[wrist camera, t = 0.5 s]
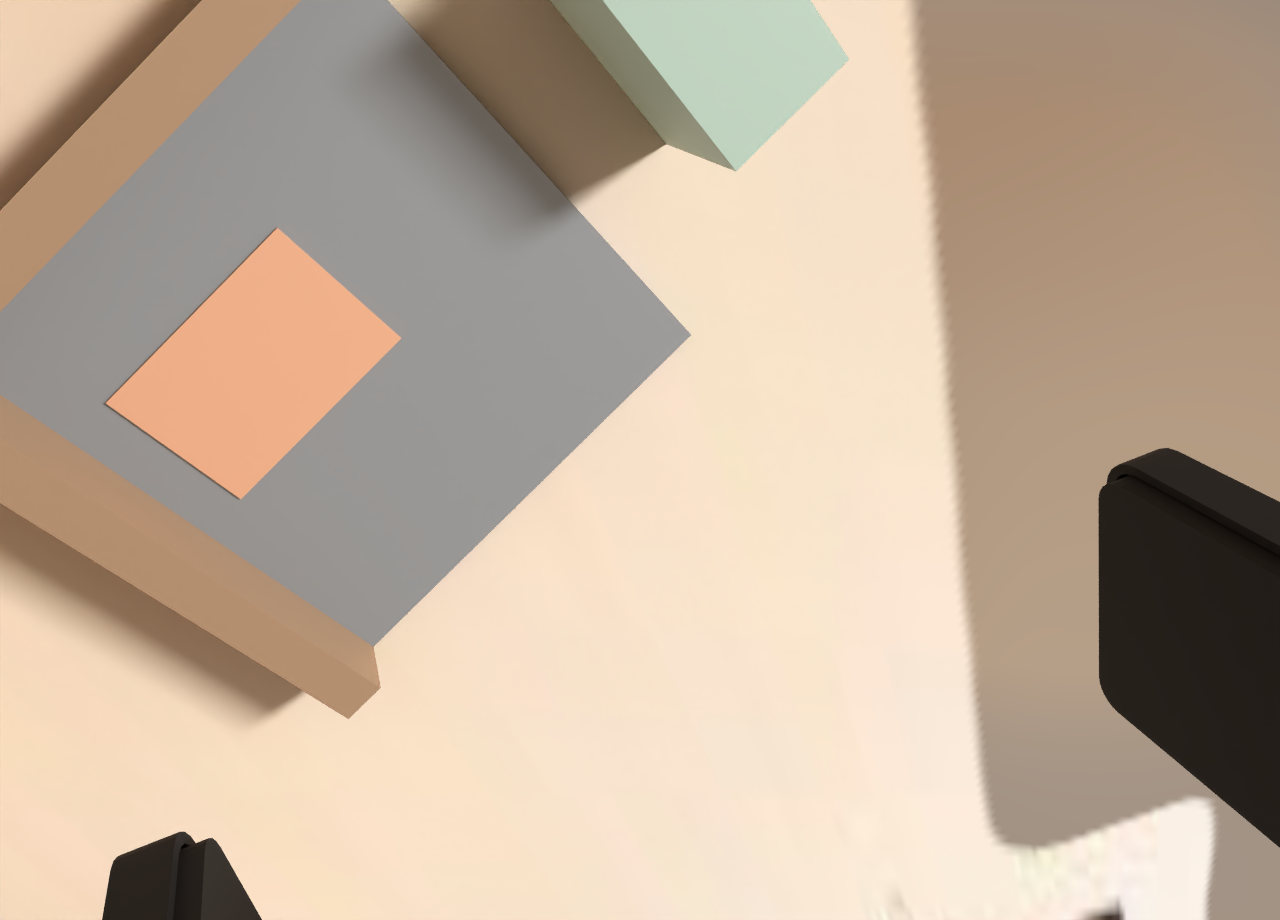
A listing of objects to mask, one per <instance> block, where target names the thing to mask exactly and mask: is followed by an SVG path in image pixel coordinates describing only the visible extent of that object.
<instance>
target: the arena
mask: <svg viewBox="0 0 1280 920" xmlns="http://www.w3.org/2000/svg"><path fill="white" fill-rule="evenodd" d="M690 336H691V334H690V333H689V332H688V331H687V330H686V329H685V328H684V327H683V325H682V324H681V323H680V322H679V321H678V320H677V319H676V318H675V317H674V315H673V314H672V313H671V312H670V311H669V310H668V309H667V308H666V307H665V306H664V304H663V303H662V302H661V301H660V300H659V299H658V298H657V297H656V296H655V295H654V293H653V292H652V291H651V290H650V289H649V288H648V287H647V286H646V285H645V284H644V282H643V281H642V280H641V279H640V278H639V277H638V276H637V275H636V274H635V273H634V271H633V270H632V269H631V268H630V267H629V266H628V265H627V264H626V263H625V262H624V260H623V259H622V258H621V257H620V256H619V255H618V254H617V253H616V252H615V251H614V249H613V248H612V247H611V246H610V245H609V244H608V243H607V242H606V241H605V239H604V238H603V237H602V236H601V235H600V234H599V233H598V232H597V231H596V230H595V228H594V227H593V226H592V225H591V224H590V223H589V222H588V221H587V220H586V219H585V217H584V216H583V215H582V214H581V213H580V212H579V211H578V210H577V209H576V208H575V206H574V205H573V204H572V203H571V202H570V201H569V200H568V199H567V198H566V197H565V195H564V194H563V193H562V192H561V191H560V190H559V189H558V188H557V187H556V186H555V184H554V183H553V182H552V181H551V180H550V179H549V178H548V177H547V176H546V175H545V173H544V172H543V171H542V170H541V169H540V168H539V167H538V166H537V165H536V164H535V162H534V161H533V160H532V159H531V158H530V157H529V156H528V155H527V154H526V152H525V151H524V150H523V149H522V148H521V147H520V146H519V145H518V144H517V143H516V141H515V140H514V139H513V138H512V137H511V136H510V135H509V134H508V133H507V132H506V130H505V129H504V128H503V127H502V126H501V125H500V124H499V123H498V122H497V121H496V119H495V118H494V117H493V116H492V115H491V114H490V113H489V112H488V111H487V110H486V108H485V107H484V106H483V105H482V104H481V103H480V102H479V101H478V100H477V99H476V97H475V96H474V95H473V94H472V93H471V92H470V91H469V90H468V89H467V88H466V86H465V85H464V84H463V83H462V82H461V81H460V80H459V79H458V78H457V76H456V75H455V74H454V73H453V72H452V71H451V70H450V69H449V68H448V67H447V65H446V64H445V63H444V62H443V61H442V60H441V59H440V58H439V57H438V56H437V54H436V53H435V52H434V51H433V50H432V49H431V48H430V47H429V46H428V45H427V43H426V42H425V41H424V40H423V39H422V38H421V37H420V36H419V35H418V34H417V32H416V31H415V30H414V29H413V28H412V27H411V26H410V25H409V24H408V23H407V21H406V20H405V19H404V18H403V17H402V16H401V15H400V14H399V13H398V12H397V10H396V9H395V8H394V7H393V6H392V5H391V4H390V3H389V2H388V0H201V1H200V2H199V3H198V5H197V6H196V7H195V8H194V9H193V10H192V11H191V12H190V13H189V14H188V15H187V16H186V17H185V18H184V19H183V20H182V21H181V22H180V23H179V24H178V25H177V26H176V27H175V29H174V30H173V31H172V32H171V33H170V34H169V35H168V36H167V37H166V38H165V39H164V40H163V41H162V42H161V43H160V44H159V45H158V46H157V47H156V48H155V49H154V50H153V52H152V53H151V54H150V55H149V56H148V57H147V58H146V59H145V60H144V61H143V62H142V63H141V64H140V65H139V66H138V67H137V68H136V69H135V70H134V71H133V72H132V73H131V74H130V76H129V77H128V78H127V79H126V80H125V81H124V82H123V83H122V84H121V85H120V86H119V87H118V88H117V89H116V90H115V91H114V92H113V93H112V94H111V95H110V96H109V97H108V99H107V100H106V101H105V102H104V103H103V104H102V105H101V106H100V107H99V108H98V109H97V110H96V111H95V112H94V113H93V114H92V115H91V116H90V117H89V118H88V119H87V120H86V122H85V123H84V124H83V125H82V126H81V127H80V128H79V129H78V130H77V131H76V132H75V133H74V134H73V135H72V136H71V137H70V138H69V139H68V140H67V141H66V142H65V143H64V144H63V146H62V147H61V148H60V149H59V150H58V151H57V152H56V153H55V154H54V155H53V156H52V157H51V158H50V159H49V160H48V161H47V162H46V163H45V164H44V165H43V166H42V167H41V169H40V170H39V171H38V172H37V173H36V174H35V175H34V176H33V177H32V178H31V179H30V180H29V181H28V182H27V183H26V184H25V185H24V186H23V187H22V188H21V189H20V190H19V191H18V193H17V194H16V195H15V196H14V197H13V198H12V199H11V200H10V201H9V202H8V203H7V204H6V205H5V206H4V207H3V208H2V209H1V210H0V504H2V505H4V506H5V507H7V508H8V509H10V510H12V511H13V512H15V513H16V514H18V515H20V516H21V517H23V518H25V519H26V520H28V521H29V522H31V523H33V524H34V525H36V526H37V527H39V528H41V529H42V530H44V531H46V532H47V533H49V534H50V535H52V536H54V537H55V538H57V539H58V540H60V541H62V542H63V543H65V544H67V545H68V546H70V547H71V548H73V549H75V550H76V551H78V552H79V553H81V554H83V555H84V556H86V557H88V558H89V559H91V560H92V561H94V562H96V563H97V564H99V565H100V566H102V567H104V568H105V569H107V570H109V571H110V572H112V573H113V574H115V575H117V576H118V577H120V578H121V579H123V580H125V581H126V582H128V583H130V584H131V585H133V586H134V587H136V588H138V589H139V590H141V591H142V592H144V593H146V594H147V595H149V596H151V597H152V598H154V599H155V600H157V601H159V602H160V603H162V604H163V605H165V606H167V607H168V608H170V609H172V610H173V611H175V612H176V613H178V614H180V615H181V616H183V617H184V618H186V619H188V620H189V621H191V622H193V623H194V624H196V625H197V626H199V627H201V628H202V629H204V630H205V631H207V632H209V633H210V634H212V635H214V636H215V637H217V638H218V639H220V640H222V641H223V642H225V643H226V644H228V645H230V646H231V647H233V648H235V649H236V650H238V651H239V652H241V653H243V654H244V655H246V656H247V657H249V658H251V659H252V660H254V661H256V662H257V663H259V664H260V665H262V666H264V667H265V668H267V669H268V670H270V671H272V672H273V673H275V674H277V675H278V676H280V677H281V678H283V679H285V680H286V681H288V682H290V683H291V684H293V685H294V686H296V687H298V688H299V689H301V690H302V691H304V692H306V693H307V694H309V695H311V696H312V697H314V698H315V699H317V700H319V701H320V702H322V703H323V704H325V705H327V706H328V707H330V708H332V709H333V710H335V711H336V712H338V713H340V714H341V715H343V716H344V717H346V718H348V719H349V718H350V717H351V716H352V715H353V714H354V713H355V712H356V711H357V710H358V709H359V708H360V707H361V706H362V705H363V704H364V703H365V702H366V701H367V700H368V699H369V698H370V697H372V696H373V695H374V694H375V693H376V692H377V691H378V690H379V689H380V688H381V687H380V682H379V676H378V670H377V665H376V659H375V653H374V646H375V645H376V644H377V643H378V642H379V641H380V640H381V639H382V638H383V637H384V636H385V635H386V634H387V633H388V632H389V631H390V630H391V629H392V628H393V627H394V626H395V625H396V624H397V623H398V622H399V621H400V620H401V619H402V618H403V617H404V616H405V615H406V614H407V613H408V612H409V611H410V610H411V609H412V608H413V607H414V606H415V605H416V604H417V603H418V602H419V601H420V600H421V599H422V598H423V597H425V596H426V595H427V594H428V593H429V592H430V591H431V590H432V589H433V588H434V587H435V586H436V585H437V584H438V583H439V582H440V581H441V580H442V579H443V578H444V577H445V576H446V575H447V574H448V573H449V572H450V571H451V570H452V569H453V568H454V567H455V566H456V565H457V564H458V563H459V562H460V561H461V560H462V559H463V558H464V557H465V556H466V555H467V554H468V553H469V552H470V551H471V550H472V549H473V548H474V547H475V546H476V545H478V544H479V543H480V542H481V541H482V540H483V539H484V538H485V537H486V536H487V535H488V534H489V533H490V532H491V531H492V530H493V529H494V528H495V527H496V526H497V525H498V524H499V523H500V522H501V521H502V520H503V519H504V518H505V517H506V516H507V515H508V514H509V513H510V512H511V511H512V510H513V509H514V508H515V507H516V506H517V505H518V504H519V503H520V502H521V501H522V500H523V499H524V498H525V497H526V496H527V495H528V494H529V493H531V492H532V491H533V490H534V489H535V488H536V487H537V486H538V485H539V484H540V483H541V482H542V481H543V480H544V479H545V478H546V477H547V476H548V475H549V474H550V473H551V472H552V471H553V470H554V469H555V468H556V467H557V466H558V465H559V464H560V463H561V462H562V461H563V460H564V459H565V458H566V457H567V456H568V455H569V454H570V453H571V452H572V451H573V450H574V449H575V448H576V447H577V446H578V445H579V444H580V443H581V442H582V441H584V440H585V439H586V438H587V437H588V436H589V435H590V434H591V433H592V432H593V431H594V430H595V429H596V428H597V427H598V426H599V425H600V424H601V423H602V422H603V421H604V420H605V419H606V418H607V417H608V416H609V415H610V414H611V413H612V412H613V411H614V410H615V409H616V408H617V407H618V406H619V405H620V404H621V403H622V402H623V401H624V400H625V399H626V398H627V397H628V396H629V395H630V394H631V393H632V392H633V391H634V390H635V389H637V388H638V387H639V386H640V385H641V384H642V383H643V382H644V381H645V380H646V379H647V378H648V377H649V376H650V375H651V374H652V373H653V372H654V371H655V370H656V369H657V368H658V367H659V366H660V365H661V364H662V363H663V362H664V361H665V360H666V359H667V358H668V357H669V356H670V355H671V354H672V353H673V352H674V351H675V350H676V349H677V348H678V347H679V346H680V345H681V344H682V343H683V342H684V341H685V340H686V339H687V338H688V337H690Z"/></svg>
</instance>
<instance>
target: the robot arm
mask: <svg viewBox="0 0 1280 920" xmlns="http://www.w3.org/2000/svg"><path fill="white" fill-rule="evenodd" d="M1099 679H1100V684H1101V688H1102V690H1103V693H1104V695H1105V696H1106V698H1107V700H1108V701H1109V703H1110V704H1111V705H1112V706H1113V707H1114V709H1115V710H1116V711H1117V712H1118V713H1120V714H1121V715H1122V716H1123V717H1124V718H1126V719H1127V720H1128V721H1129V722H1130V723H1131V724H1133V725H1134V726H1135V727H1136V728H1137V729H1139V730H1140V731H1141V732H1142V733H1143V734H1145V735H1146V736H1147V737H1148V738H1149V739H1151V740H1152V741H1153V742H1154V743H1156V744H1157V745H1158V746H1159V747H1160V748H1161V749H1163V750H1164V751H1165V752H1166V753H1167V754H1169V755H1170V756H1171V757H1172V758H1173V759H1175V760H1176V761H1177V762H1178V763H1179V764H1181V765H1182V766H1183V767H1184V768H1185V769H1186V770H1188V771H1189V772H1190V773H1191V774H1192V775H1194V776H1195V777H1196V778H1197V779H1199V780H1200V781H1201V782H1202V783H1203V784H1204V785H1206V786H1207V787H1208V788H1209V789H1210V790H1212V791H1213V792H1214V793H1215V794H1217V795H1218V796H1219V797H1220V798H1221V799H1222V800H1223V801H1225V802H1226V803H1227V804H1228V805H1229V806H1231V807H1232V808H1233V809H1234V810H1236V811H1237V812H1238V813H1239V814H1240V815H1241V816H1243V817H1244V818H1245V819H1246V820H1247V821H1249V822H1250V823H1251V824H1252V825H1253V826H1255V827H1256V828H1257V829H1258V830H1259V831H1261V832H1262V833H1263V834H1264V835H1265V836H1267V837H1268V838H1269V839H1270V840H1271V841H1272V842H1274V843H1275V844H1276V845H1277V846H1278V847H1280V502H1279V501H1277V500H1275V499H1273V498H1271V497H1269V496H1266V495H1265V494H1263V493H1261V492H1259V491H1256V490H1255V489H1253V488H1250V487H1249V486H1247V485H1244V484H1243V483H1240V482H1238V481H1237V480H1234V479H1232V478H1230V477H1228V476H1226V475H1224V474H1222V473H1220V472H1218V471H1216V470H1214V469H1212V468H1210V467H1208V466H1206V465H1204V464H1202V463H1200V462H1198V461H1196V460H1194V459H1192V458H1190V457H1188V456H1186V455H1184V454H1182V453H1180V452H1178V451H1175V450H1172V449H1169V448H1163V449H1158V450H1155V451H1153V452H1150V453H1147V454H1145V455H1142V456H1140V457H1137V458H1135V459H1132V460H1130V461H1127V462H1125V463H1122V464H1119V465H1118V466H1116V467H1114V468H1113V469H1112V470H1111V471H1110V473H1109V475H1108V479H1107V484H1106V485H1105V486H1103V487H1102V489H1101V491H1100V494H1099ZM102 920H262V919H261V917H260V916H259V914H258V912H257V910H256V909H255V907H254V905H253V903H252V902H251V900H250V898H249V896H248V895H247V893H246V891H245V889H244V888H243V886H242V884H241V882H240V881H239V879H238V877H237V875H236V874H235V872H234V870H233V868H232V867H231V865H230V863H229V861H228V860H227V858H226V856H225V854H224V853H223V851H222V849H221V847H220V846H219V845H218V843H217V842H216V841H215V840H214V839H213V838H208V839H206V840H203V841H201V842H198V843H195V842H194V840H193V839H192V838H191V836H190V835H188V834H187V833H186V832H178V833H176V834H173V835H171V836H168V837H166V838H163V839H160V840H158V841H155V842H153V843H150V844H148V845H145V846H143V847H140V848H137V849H135V850H132V851H130V852H127V853H125V854H122V855H120V856H118V857H117V858H116V859H115V860H114V861H113V864H112V867H111V871H110V877H109V882H108V888H107V894H106V900H105V906H104V912H103V918H102Z"/></svg>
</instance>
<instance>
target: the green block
mask: <svg viewBox="0 0 1280 920" xmlns="http://www.w3.org/2000/svg"><path fill="white" fill-rule="evenodd" d="M550 1H551V3H552V4H553V5H554V6H555V8H556V9H557V10H558V11H559V12H560V14H561V15H562V16H563V17H564V19H565V20H566V21H567V22H568V24H569V25H570V26H571V27H572V28H573V30H574V31H575V32H576V33H577V35H578V36H579V37H580V38H581V40H582V41H583V42H584V43H585V44H586V46H587V47H588V48H589V49H590V51H591V52H592V53H593V54H594V56H595V57H596V58H597V59H598V60H599V62H600V63H601V64H602V65H603V67H604V68H605V69H606V70H607V72H608V73H609V74H610V75H611V76H612V78H613V79H614V80H615V81H616V83H617V84H618V85H619V86H620V88H621V89H622V90H623V91H624V92H625V94H626V95H627V96H628V97H629V99H630V100H631V101H632V102H633V104H634V105H635V106H636V107H637V108H638V110H639V111H640V112H641V113H642V115H643V116H644V117H645V118H646V120H647V121H648V122H649V123H650V124H651V126H652V127H653V128H654V129H655V131H656V132H657V133H658V134H659V136H660V137H661V138H662V139H663V140H664V142H665V143H666V144H667V145H670V146H673V147H675V148H678V149H680V150H683V151H685V152H688V153H691V154H693V155H696V156H698V157H701V158H703V159H706V160H709V161H711V162H714V163H716V164H719V165H721V166H724V167H726V168H729V169H732V170H734V171H737V170H738V169H739V168H740V167H741V166H742V165H743V164H744V163H745V162H746V161H747V160H748V159H749V158H750V157H751V156H752V155H753V154H754V153H755V152H756V151H757V150H758V149H759V148H760V147H761V146H762V145H763V144H764V143H765V142H766V141H767V140H768V139H769V138H770V137H771V136H772V135H773V134H774V133H775V132H776V131H777V130H778V129H779V128H780V127H781V126H782V125H783V124H784V123H785V122H786V121H787V120H788V119H789V118H790V117H791V116H793V115H794V114H795V113H796V112H797V111H798V110H799V109H800V108H801V107H802V106H803V105H804V104H805V103H806V102H807V101H808V100H809V99H810V98H811V97H812V96H813V95H814V94H815V93H816V92H817V91H818V90H819V89H820V88H821V87H822V86H823V85H824V84H825V83H826V82H827V81H828V80H829V79H830V78H831V77H832V76H833V75H834V74H835V73H836V72H837V71H838V70H839V69H840V68H841V67H842V66H843V65H844V64H845V63H846V62H847V61H848V60H849V58H848V57H847V55H846V54H845V52H844V51H843V49H842V48H841V46H840V45H839V43H838V42H837V40H836V39H835V37H834V36H833V34H832V33H831V31H830V30H829V28H828V26H827V25H826V23H825V22H824V20H823V19H822V17H821V16H820V14H819V13H818V11H817V10H816V8H815V7H814V5H813V4H812V2H811V1H810V0H550Z"/></svg>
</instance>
